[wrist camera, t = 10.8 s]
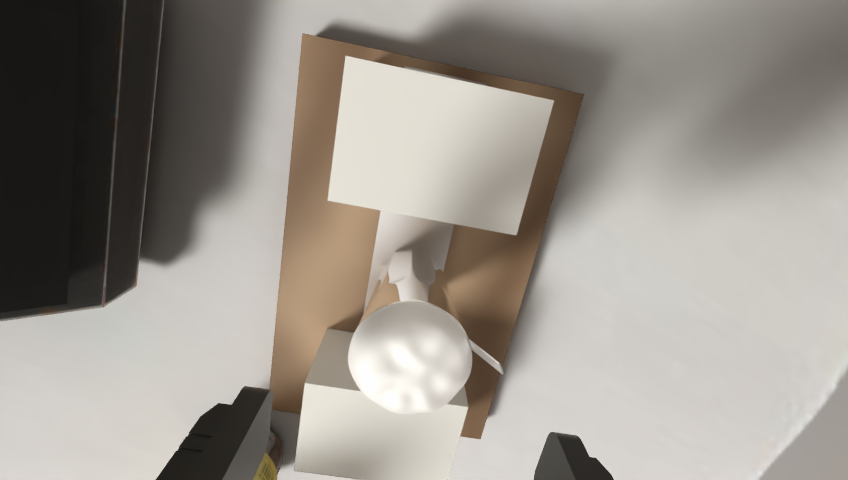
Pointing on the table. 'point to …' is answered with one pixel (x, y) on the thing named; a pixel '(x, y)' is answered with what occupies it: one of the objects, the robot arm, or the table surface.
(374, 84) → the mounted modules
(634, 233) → the table surface
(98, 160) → the voltmeter
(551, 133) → the rail board
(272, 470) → the sauce bottle
